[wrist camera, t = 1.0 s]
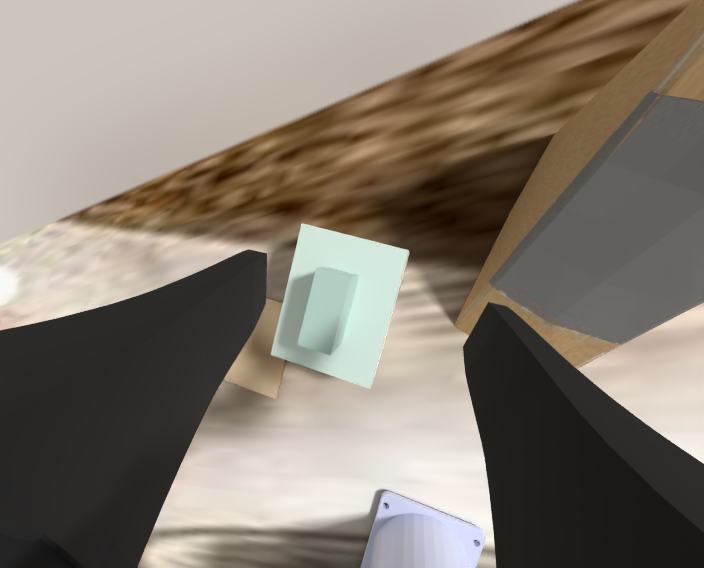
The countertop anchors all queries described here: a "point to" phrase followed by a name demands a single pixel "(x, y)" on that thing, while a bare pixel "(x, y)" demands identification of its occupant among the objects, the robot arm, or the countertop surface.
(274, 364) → the mat
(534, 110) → the countertop surface
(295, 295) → the lid
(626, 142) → the sandwich container
